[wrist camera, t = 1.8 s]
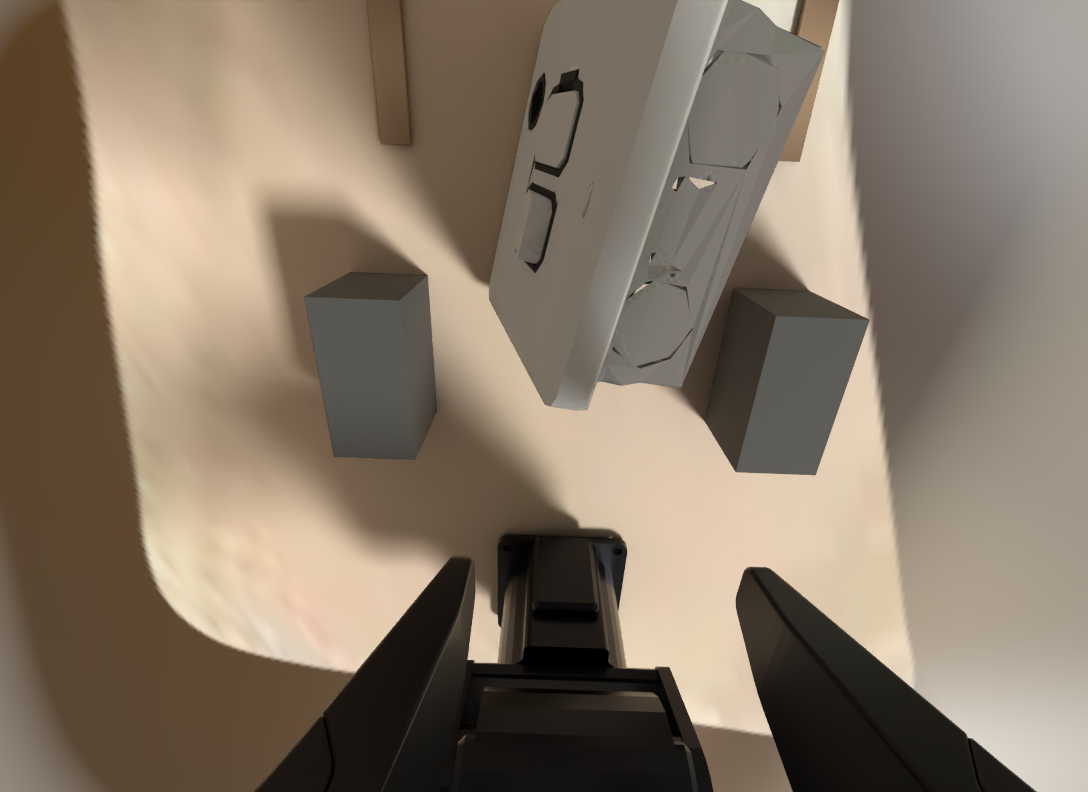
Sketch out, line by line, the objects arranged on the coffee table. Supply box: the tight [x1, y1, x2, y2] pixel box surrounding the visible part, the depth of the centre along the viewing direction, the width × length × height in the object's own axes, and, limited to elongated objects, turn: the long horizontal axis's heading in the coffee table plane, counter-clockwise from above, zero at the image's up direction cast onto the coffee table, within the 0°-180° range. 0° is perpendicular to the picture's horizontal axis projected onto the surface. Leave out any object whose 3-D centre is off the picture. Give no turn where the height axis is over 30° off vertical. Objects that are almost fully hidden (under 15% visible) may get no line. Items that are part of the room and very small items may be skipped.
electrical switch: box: [489, 0, 825, 410], centre depth 13 cm, size 9×5×9 cm, turn 165°
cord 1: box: [705, 288, 869, 475], centre depth 18 cm, size 6×3×4 cm, turn 178°
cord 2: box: [305, 272, 437, 460], centre depth 18 cm, size 6×3×4 cm, turn 178°
